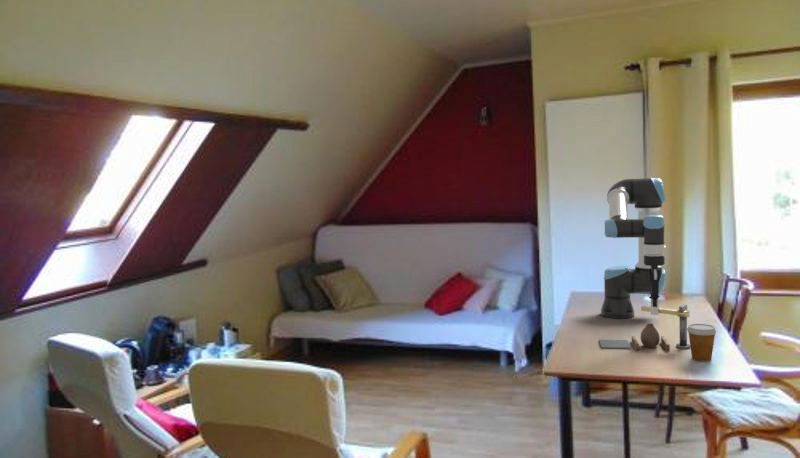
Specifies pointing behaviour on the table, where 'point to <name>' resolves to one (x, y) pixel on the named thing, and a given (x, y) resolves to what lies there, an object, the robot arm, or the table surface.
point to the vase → (650, 336)
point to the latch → (670, 311)
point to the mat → (614, 344)
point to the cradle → (663, 341)
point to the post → (683, 334)
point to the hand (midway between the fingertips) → (654, 314)
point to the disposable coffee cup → (701, 341)
